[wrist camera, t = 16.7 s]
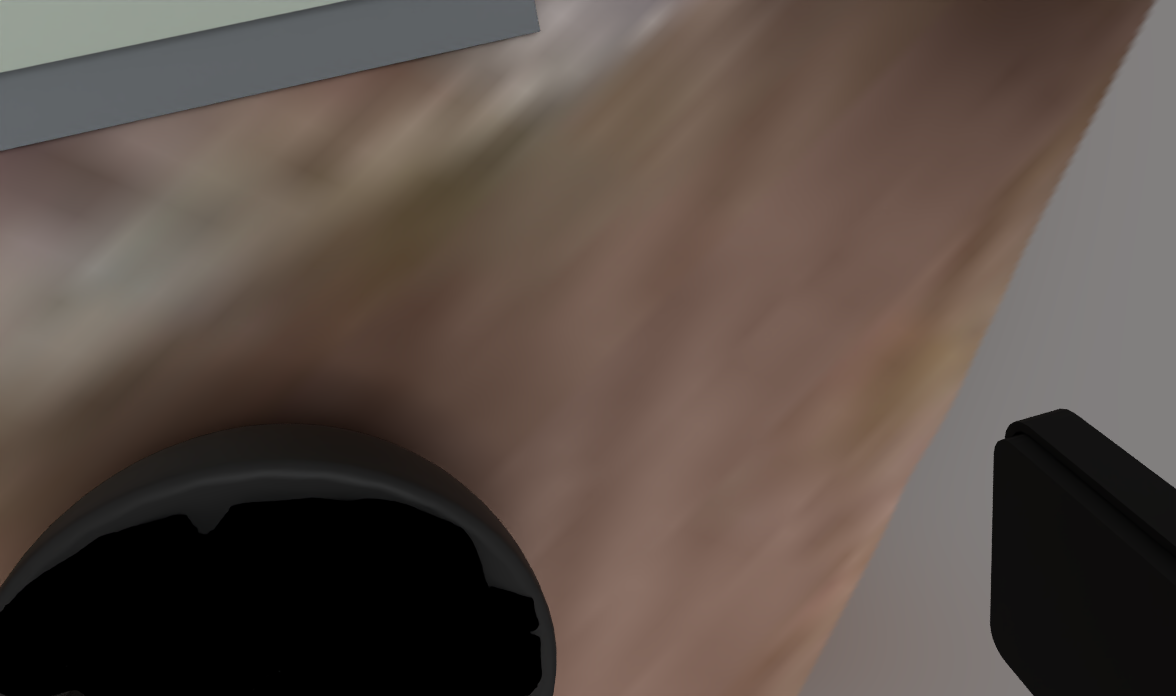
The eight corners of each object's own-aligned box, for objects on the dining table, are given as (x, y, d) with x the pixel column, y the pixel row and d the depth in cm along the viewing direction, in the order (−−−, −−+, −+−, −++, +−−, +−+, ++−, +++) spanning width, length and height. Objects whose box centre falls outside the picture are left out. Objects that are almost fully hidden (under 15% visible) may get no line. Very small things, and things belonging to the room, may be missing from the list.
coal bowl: (32, 701, 45) (-148, 1190, 28) (56, 296, 37) (-170, 637, 21) (467, 715, 51) (528, 1123, 34) (562, 367, 43) (698, 676, 27)
